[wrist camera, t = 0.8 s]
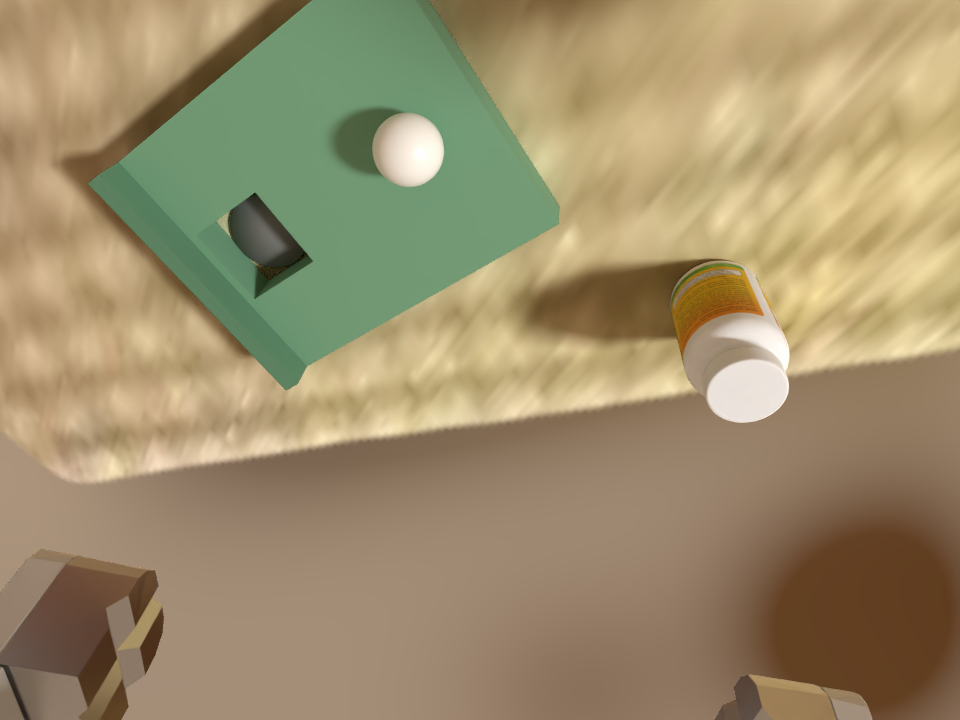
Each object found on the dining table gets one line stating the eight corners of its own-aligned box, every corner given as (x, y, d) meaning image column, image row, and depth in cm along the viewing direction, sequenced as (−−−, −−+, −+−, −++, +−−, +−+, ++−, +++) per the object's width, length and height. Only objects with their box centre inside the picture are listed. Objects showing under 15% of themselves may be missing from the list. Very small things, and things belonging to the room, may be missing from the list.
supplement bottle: (650, 305, 44) (668, 399, 36) (713, 240, 41) (747, 327, 33) (715, 349, 45) (746, 450, 37) (780, 290, 43) (828, 385, 35)
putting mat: (390, -61, 34) (368, -53, 31) (559, 206, 41) (558, 239, 37) (130, 156, 42) (87, 183, 38) (307, 351, 49) (286, 390, 45)
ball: (421, 90, 36) (408, 108, 33) (462, 150, 37) (452, 173, 34) (367, 128, 37) (349, 150, 34) (408, 185, 39) (394, 210, 36)
